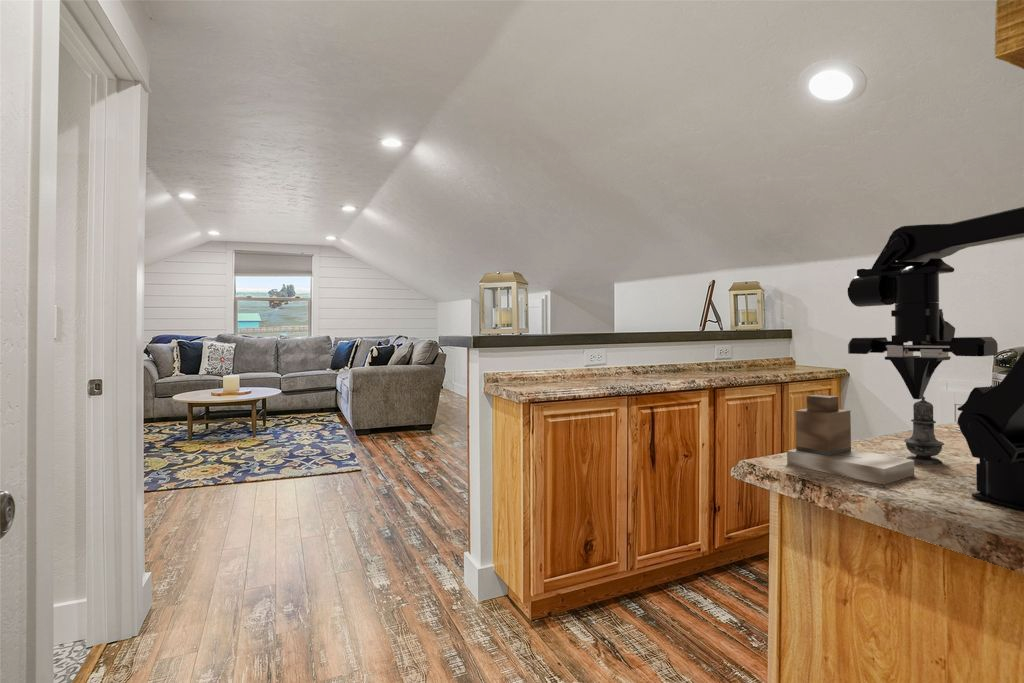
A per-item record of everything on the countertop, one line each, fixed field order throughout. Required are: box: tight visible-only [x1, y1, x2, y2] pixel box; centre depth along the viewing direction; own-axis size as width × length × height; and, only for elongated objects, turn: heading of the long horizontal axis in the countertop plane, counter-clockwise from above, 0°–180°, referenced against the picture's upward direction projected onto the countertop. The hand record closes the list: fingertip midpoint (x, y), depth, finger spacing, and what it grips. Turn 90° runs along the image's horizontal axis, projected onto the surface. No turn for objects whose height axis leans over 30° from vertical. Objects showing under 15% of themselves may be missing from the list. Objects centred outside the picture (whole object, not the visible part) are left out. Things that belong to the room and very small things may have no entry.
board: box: [786, 448, 915, 486], centre depth 92 cm, size 16×10×2 cm, turn 30°
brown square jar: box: [794, 394, 852, 456], centre depth 96 cm, size 6×7×10 cm
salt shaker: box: [903, 395, 945, 466], centre depth 97 cm, size 6×6×12 cm
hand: (917, 399), depth 86 cm, fingers closed
